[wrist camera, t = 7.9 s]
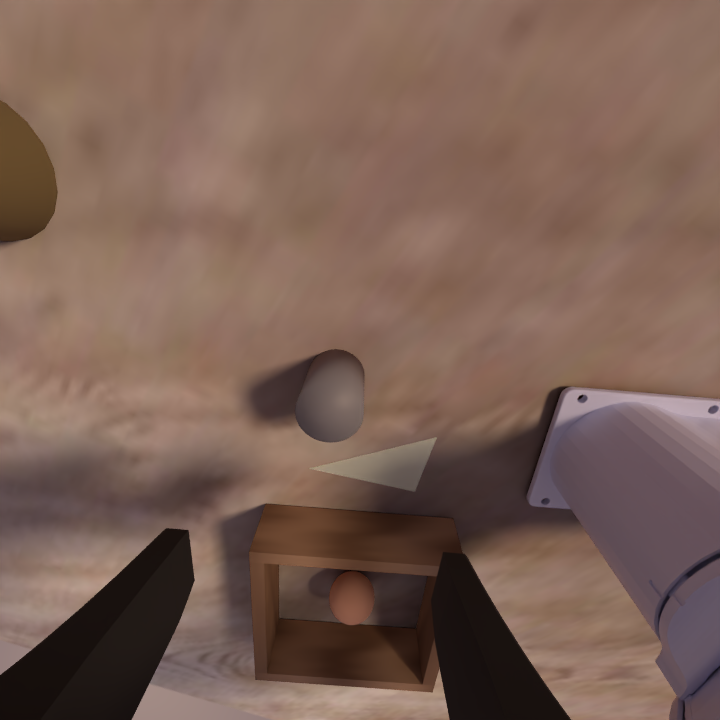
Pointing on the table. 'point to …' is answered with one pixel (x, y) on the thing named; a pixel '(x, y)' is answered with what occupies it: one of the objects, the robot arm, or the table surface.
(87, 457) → the table surface
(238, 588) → the table surface
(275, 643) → the walnut crate
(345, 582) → the terracotta ball
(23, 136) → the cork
